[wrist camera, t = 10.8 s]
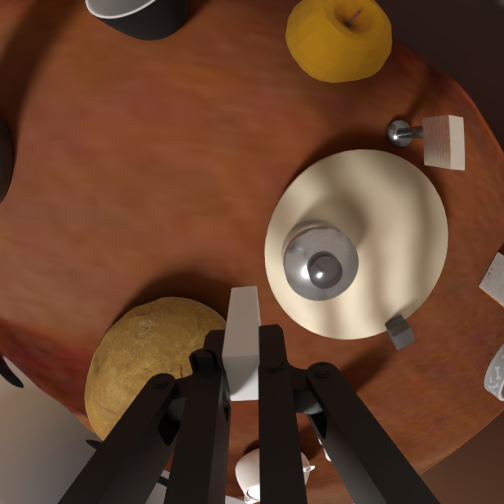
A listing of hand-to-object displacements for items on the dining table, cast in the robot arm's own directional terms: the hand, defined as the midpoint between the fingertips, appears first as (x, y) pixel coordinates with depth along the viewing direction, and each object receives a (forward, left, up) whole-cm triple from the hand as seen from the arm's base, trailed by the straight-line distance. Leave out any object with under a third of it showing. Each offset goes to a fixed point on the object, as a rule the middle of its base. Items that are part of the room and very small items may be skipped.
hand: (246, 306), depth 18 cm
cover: (+7, -1, -13) cm, 15 cm away
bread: (-17, -21, -17) cm, 31 cm away
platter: (+13, -2, -14) cm, 19 cm away
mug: (-10, +28, -16) cm, 34 cm away
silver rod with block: (+17, +11, -16) cm, 26 cm away
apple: (+9, +20, -16) cm, 27 cm away
